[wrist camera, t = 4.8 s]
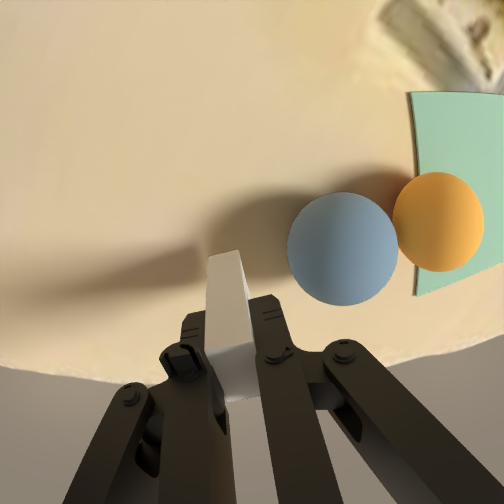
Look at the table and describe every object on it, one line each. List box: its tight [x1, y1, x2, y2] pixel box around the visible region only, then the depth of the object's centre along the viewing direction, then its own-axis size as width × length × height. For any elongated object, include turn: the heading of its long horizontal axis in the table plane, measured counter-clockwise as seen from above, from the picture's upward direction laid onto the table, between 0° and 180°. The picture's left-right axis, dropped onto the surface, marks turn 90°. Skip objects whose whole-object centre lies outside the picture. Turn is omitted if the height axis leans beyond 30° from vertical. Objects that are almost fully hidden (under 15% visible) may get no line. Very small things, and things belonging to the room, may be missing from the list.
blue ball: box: [287, 192, 398, 306], centre depth 15 cm, size 6×6×6 cm
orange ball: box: [392, 172, 484, 272], centre depth 15 cm, size 6×6×6 cm
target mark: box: [410, 92, 504, 297], centre depth 17 cm, size 14×14×1 cm
